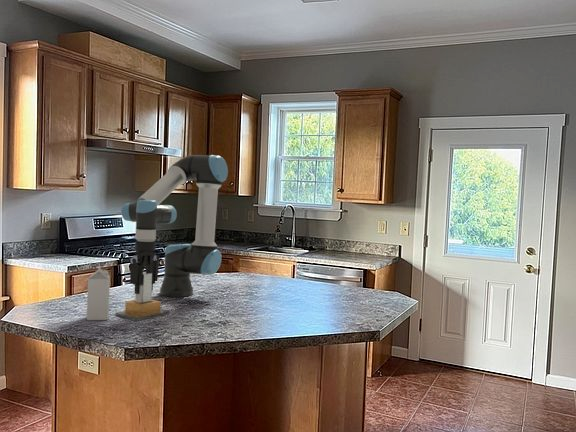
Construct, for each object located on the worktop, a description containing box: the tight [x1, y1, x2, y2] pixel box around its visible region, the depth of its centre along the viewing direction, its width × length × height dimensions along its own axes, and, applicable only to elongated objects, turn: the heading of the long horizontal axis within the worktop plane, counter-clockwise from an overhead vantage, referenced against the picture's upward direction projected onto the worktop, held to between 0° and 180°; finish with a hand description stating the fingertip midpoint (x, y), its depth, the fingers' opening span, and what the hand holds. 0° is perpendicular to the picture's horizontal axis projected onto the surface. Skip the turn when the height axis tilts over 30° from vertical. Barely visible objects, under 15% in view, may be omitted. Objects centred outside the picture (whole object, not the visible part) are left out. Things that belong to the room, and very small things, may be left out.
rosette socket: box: [115, 299, 170, 322], centre depth 200 cm, size 16×12×5 cm
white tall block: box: [137, 271, 152, 304], centre depth 200 cm, size 4×4×12 cm
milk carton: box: [86, 265, 111, 321], centre depth 191 cm, size 7×7×19 cm
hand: (143, 301), depth 200 cm, fingers closed on white tall block, 4 cm apart
